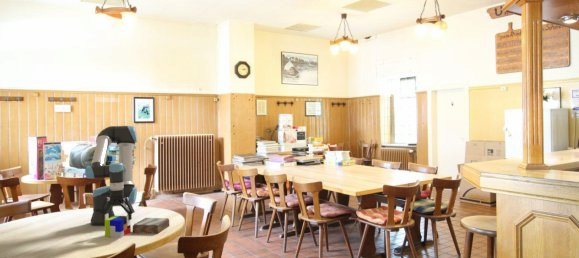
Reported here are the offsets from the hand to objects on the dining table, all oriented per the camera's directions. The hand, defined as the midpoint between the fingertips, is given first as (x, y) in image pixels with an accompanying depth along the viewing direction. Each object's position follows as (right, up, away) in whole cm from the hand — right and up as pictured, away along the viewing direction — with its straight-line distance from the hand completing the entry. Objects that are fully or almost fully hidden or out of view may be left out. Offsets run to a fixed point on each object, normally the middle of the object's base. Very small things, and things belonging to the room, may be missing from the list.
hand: (117, 225), depth 237 cm
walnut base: (+16, -5, +11) cm, 20 cm away
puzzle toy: (0, -6, +1) cm, 6 cm away
